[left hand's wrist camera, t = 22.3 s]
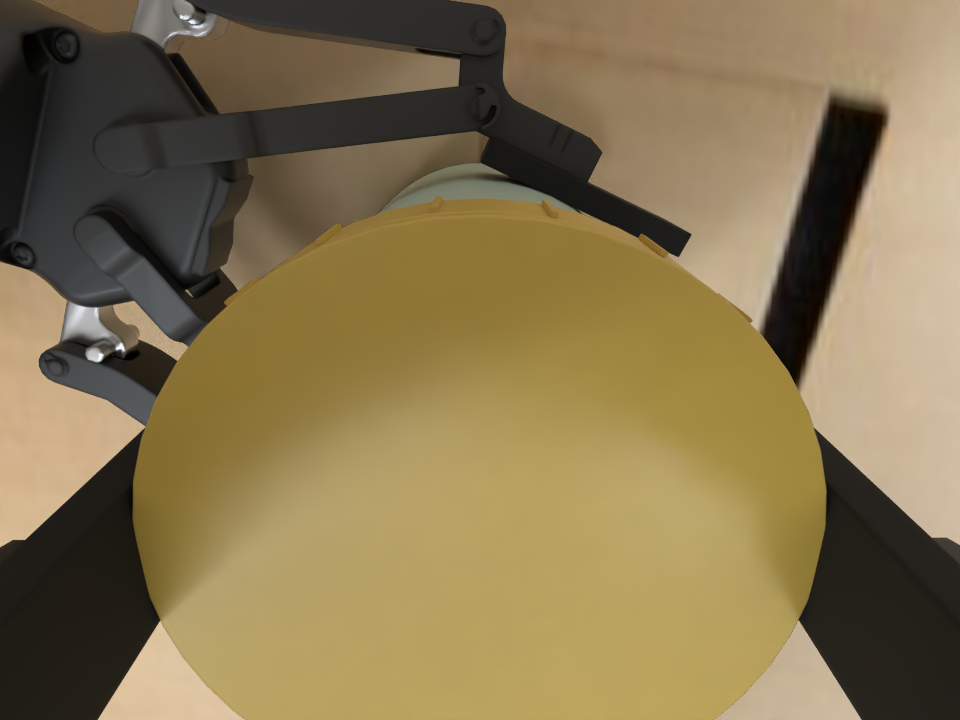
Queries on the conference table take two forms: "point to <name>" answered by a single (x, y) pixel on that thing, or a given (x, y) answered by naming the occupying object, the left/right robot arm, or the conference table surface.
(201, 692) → the conference table surface
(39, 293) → the conference table surface
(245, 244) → the conference table surface
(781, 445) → the lid
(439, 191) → the jar
